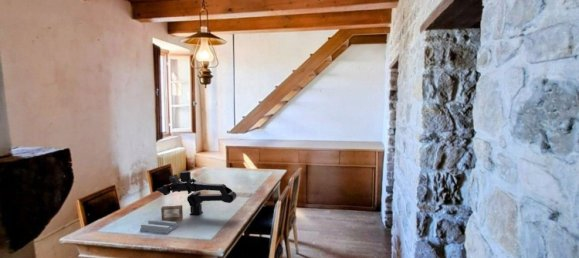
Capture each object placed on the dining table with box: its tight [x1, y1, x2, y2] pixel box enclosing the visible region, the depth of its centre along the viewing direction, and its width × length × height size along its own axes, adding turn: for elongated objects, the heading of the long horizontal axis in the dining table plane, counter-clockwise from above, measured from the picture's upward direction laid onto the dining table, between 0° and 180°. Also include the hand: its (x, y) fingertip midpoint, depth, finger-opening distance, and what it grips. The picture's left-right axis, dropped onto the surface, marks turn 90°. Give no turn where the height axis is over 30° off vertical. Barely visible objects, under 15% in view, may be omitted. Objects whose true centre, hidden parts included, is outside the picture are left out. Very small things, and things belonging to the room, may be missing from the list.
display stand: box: [139, 219, 179, 234], centre depth 185 cm, size 18×10×3 cm, turn 76°
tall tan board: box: [160, 204, 184, 222], centre depth 198 cm, size 12×3×9 cm, turn 101°
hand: (160, 188), depth 214 cm, fingers open, 9 cm apart
